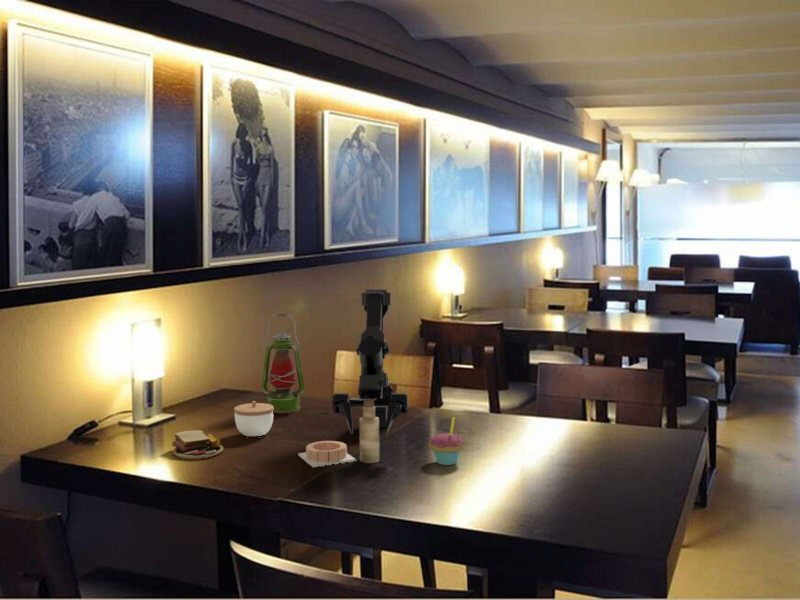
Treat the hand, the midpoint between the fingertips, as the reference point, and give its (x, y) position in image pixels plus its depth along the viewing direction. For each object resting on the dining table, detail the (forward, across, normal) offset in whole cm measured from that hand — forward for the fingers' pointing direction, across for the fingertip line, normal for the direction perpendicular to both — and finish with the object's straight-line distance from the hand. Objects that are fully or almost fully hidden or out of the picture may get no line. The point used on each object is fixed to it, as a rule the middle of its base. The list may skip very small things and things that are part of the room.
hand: (368, 433), depth 204 cm
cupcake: (+5, +19, +5) cm, 20 cm away
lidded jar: (-12, -33, +23) cm, 42 cm away
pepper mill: (+4, 0, +6) cm, 7 cm away
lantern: (-33, -30, +44) cm, 63 cm away
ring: (+3, -11, +7) cm, 13 cm away
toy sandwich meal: (0, -45, +11) cm, 46 cm away
